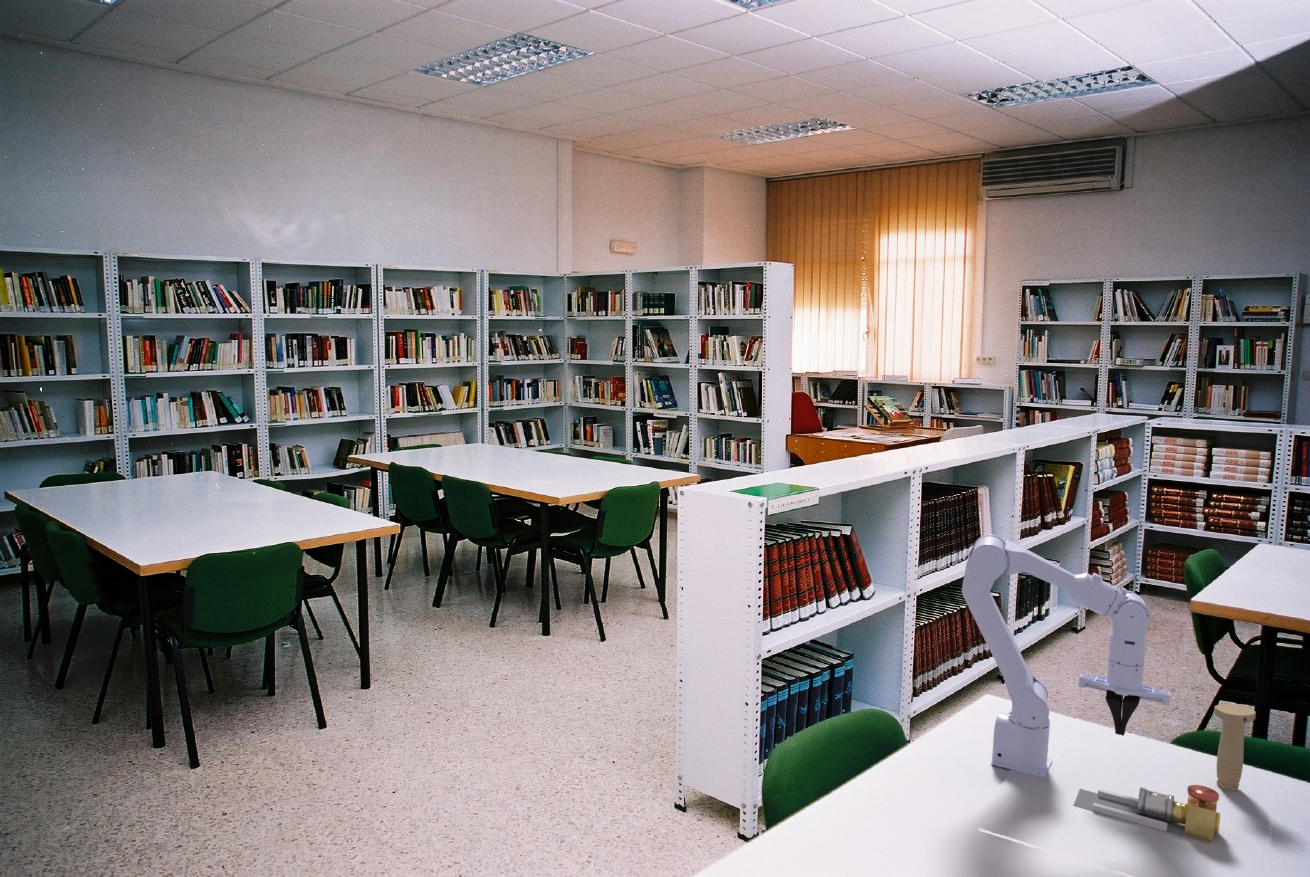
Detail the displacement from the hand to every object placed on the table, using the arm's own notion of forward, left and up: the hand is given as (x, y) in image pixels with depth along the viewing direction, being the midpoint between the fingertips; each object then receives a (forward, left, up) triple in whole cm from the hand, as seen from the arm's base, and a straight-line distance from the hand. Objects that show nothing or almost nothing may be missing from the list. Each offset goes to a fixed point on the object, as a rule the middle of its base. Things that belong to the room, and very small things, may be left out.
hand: (1120, 732), depth 162 cm
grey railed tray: (+5, -11, -9) cm, 15 cm away
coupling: (+7, -11, -9) cm, 16 cm away
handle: (+17, +9, -10) cm, 21 cm away
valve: (+14, -11, -9) cm, 20 cm away
